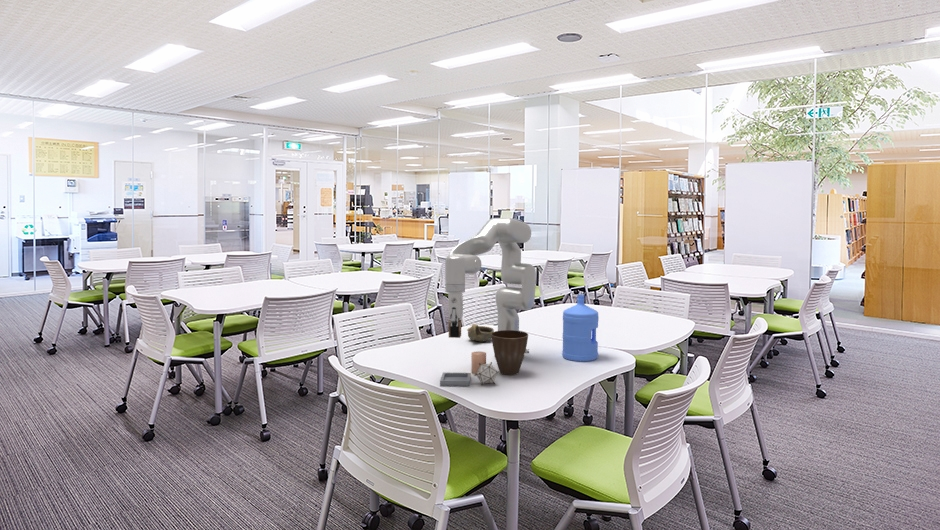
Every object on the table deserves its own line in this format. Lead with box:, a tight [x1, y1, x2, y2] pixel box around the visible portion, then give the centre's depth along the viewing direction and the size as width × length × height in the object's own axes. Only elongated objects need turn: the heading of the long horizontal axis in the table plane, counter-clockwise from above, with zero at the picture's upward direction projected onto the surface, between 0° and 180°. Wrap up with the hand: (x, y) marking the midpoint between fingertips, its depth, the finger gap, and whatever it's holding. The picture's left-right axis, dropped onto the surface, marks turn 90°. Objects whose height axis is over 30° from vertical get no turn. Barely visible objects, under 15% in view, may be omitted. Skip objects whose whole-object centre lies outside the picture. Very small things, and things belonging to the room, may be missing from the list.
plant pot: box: [491, 330, 529, 376], centre depth 227 cm, size 15×15×16 cm
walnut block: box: [448, 319, 462, 339], centre depth 216 cm, size 4×4×6 cm
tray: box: [439, 372, 472, 387], centre depth 216 cm, size 11×11×2 cm
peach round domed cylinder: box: [470, 350, 487, 375], centre depth 228 cm, size 6×6×8 cm
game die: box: [474, 361, 500, 386], centre depth 213 cm, size 9×8×10 cm
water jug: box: [561, 294, 599, 362], centre depth 250 cm, size 16×16×28 cm
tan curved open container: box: [466, 323, 495, 343], centre depth 283 cm, size 14×18×10 cm
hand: (455, 334), depth 216 cm, fingers closed on walnut block, 4 cm apart
